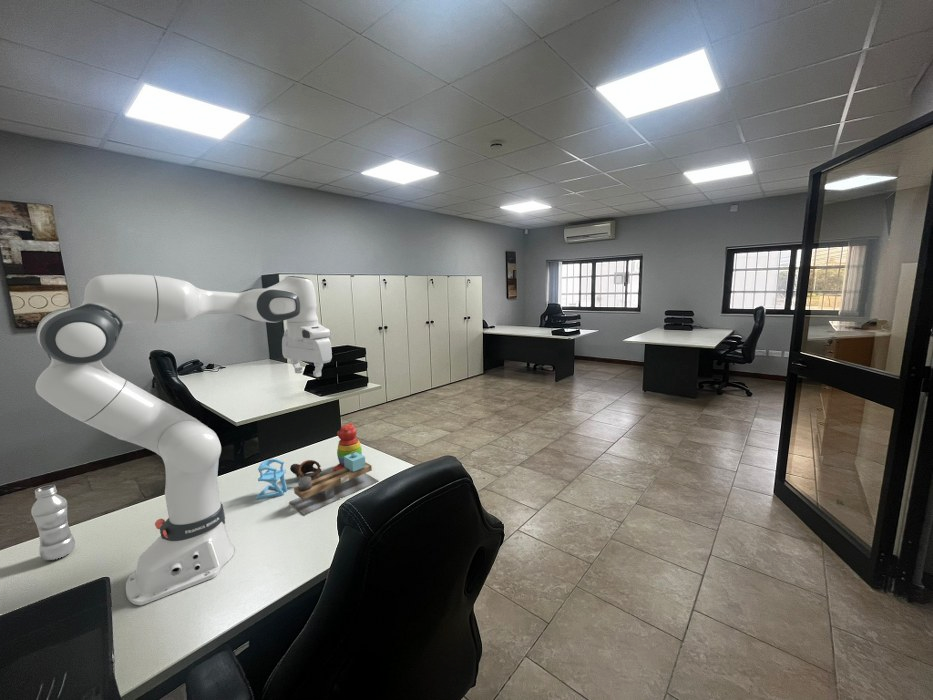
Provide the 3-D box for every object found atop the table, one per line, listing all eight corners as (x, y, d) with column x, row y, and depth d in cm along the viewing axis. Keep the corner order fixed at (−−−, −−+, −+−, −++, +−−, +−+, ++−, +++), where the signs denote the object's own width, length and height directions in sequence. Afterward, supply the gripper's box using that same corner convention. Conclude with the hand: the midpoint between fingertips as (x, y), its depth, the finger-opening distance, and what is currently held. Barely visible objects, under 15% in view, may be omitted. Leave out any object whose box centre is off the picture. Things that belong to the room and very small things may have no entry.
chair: (280, 499, 130) (277, 466, 128) (256, 499, 130) (252, 466, 128) (290, 487, 137) (288, 456, 135) (268, 487, 137) (265, 456, 135)
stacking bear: (345, 460, 158) (342, 419, 155) (367, 462, 156) (364, 421, 153) (331, 472, 148) (327, 429, 145) (354, 474, 146) (351, 431, 143)
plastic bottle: (50, 551, 105) (35, 485, 102) (82, 545, 108) (68, 480, 104) (35, 567, 99) (19, 497, 96) (69, 559, 102) (54, 491, 98)
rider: (353, 477, 135) (352, 458, 134) (345, 472, 139) (343, 453, 138) (365, 472, 139) (364, 454, 137) (357, 467, 143) (355, 449, 141)
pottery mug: (325, 472, 149) (325, 459, 144) (316, 493, 141) (315, 481, 137) (295, 466, 148) (294, 453, 143) (283, 487, 140) (282, 474, 136)
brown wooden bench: (303, 515, 120) (301, 489, 118) (289, 502, 127) (286, 477, 126) (378, 481, 140) (377, 458, 139) (362, 472, 147) (360, 450, 146)
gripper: (274, 330, 118) (279, 373, 120) (315, 333, 107) (319, 380, 109) (293, 327, 123) (297, 369, 125) (333, 330, 112) (337, 376, 114)
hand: (308, 374), depth 117 cm, fingers open, 8 cm apart
